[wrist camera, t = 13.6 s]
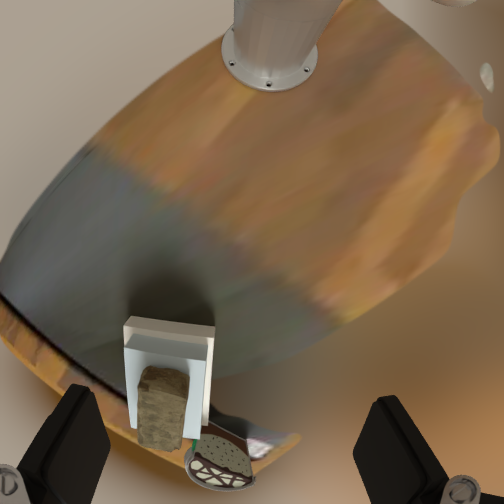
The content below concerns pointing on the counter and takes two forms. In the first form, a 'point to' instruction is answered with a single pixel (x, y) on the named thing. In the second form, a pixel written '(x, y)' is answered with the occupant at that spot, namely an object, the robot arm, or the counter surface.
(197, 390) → the tower top slab
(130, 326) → the tower base slab
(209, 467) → the food container
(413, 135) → the counter surface
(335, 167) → the counter surface
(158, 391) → the stone block
